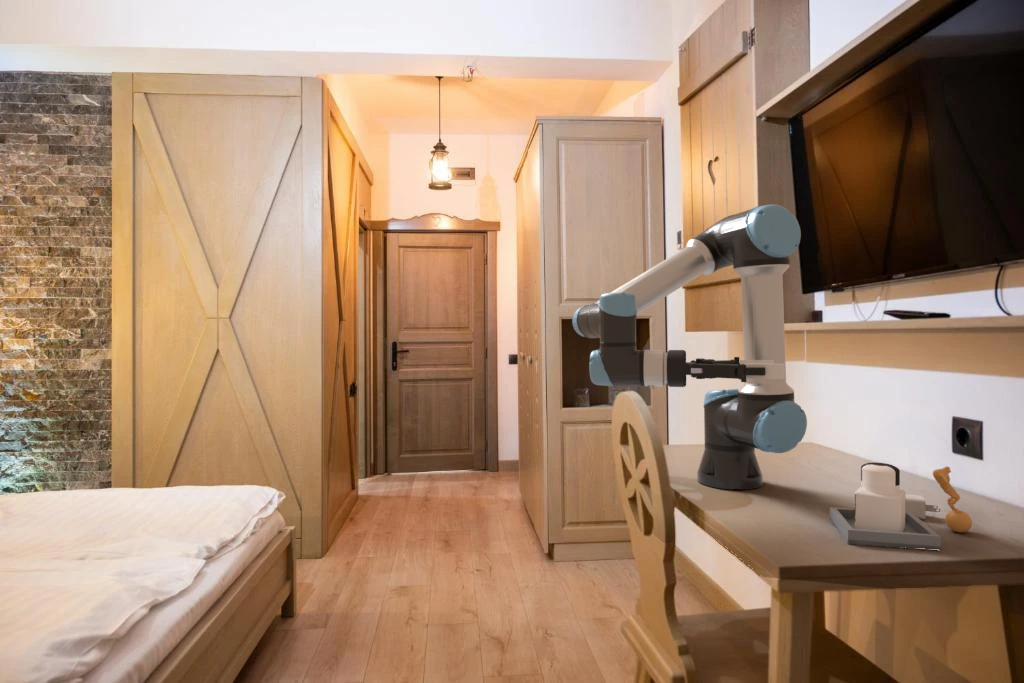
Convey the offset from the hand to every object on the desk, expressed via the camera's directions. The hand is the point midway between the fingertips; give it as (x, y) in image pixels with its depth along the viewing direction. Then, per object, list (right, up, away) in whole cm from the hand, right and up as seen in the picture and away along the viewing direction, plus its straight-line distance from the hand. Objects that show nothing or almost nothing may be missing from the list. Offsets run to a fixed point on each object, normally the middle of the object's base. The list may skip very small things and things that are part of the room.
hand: (779, 368), depth 117 cm
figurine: (+29, -30, -6) cm, 42 cm away
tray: (+16, -30, -7) cm, 34 cm away
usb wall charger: (+29, -30, +3) cm, 42 cm away
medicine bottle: (+15, -29, -7) cm, 34 cm away
